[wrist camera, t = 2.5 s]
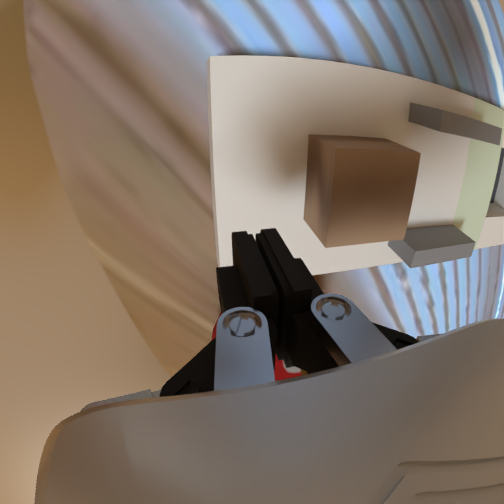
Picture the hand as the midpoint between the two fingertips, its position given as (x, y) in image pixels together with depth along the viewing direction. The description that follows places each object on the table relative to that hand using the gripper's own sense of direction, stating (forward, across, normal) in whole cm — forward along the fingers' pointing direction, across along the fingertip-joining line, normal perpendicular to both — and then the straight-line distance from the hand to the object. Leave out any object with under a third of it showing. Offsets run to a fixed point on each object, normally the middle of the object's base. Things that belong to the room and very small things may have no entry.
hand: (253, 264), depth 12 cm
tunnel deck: (+12, -17, -1) cm, 21 cm away
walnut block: (+8, -8, -1) cm, 12 cm away
